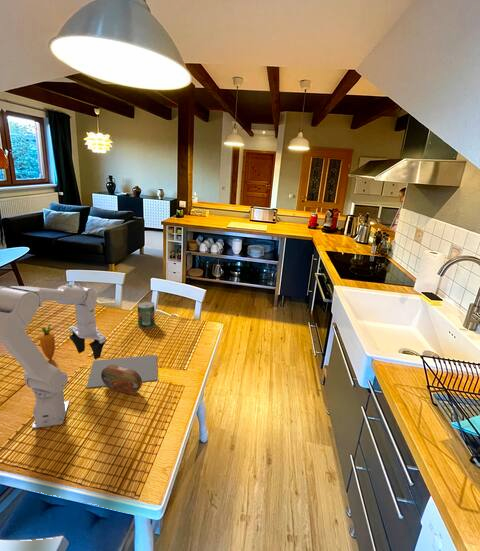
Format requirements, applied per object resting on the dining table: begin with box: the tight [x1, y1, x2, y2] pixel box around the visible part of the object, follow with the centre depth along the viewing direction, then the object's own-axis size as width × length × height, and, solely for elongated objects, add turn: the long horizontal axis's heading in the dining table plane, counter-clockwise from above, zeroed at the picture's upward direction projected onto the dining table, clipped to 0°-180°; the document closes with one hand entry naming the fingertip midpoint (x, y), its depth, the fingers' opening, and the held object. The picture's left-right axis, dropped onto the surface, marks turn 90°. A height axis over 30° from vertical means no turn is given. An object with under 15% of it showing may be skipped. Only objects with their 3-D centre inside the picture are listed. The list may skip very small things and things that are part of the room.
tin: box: [101, 365, 143, 395], centre depth 107 cm, size 15×3×8 cm, turn 73°
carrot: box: [39, 324, 56, 360], centre depth 119 cm, size 5×5×15 cm
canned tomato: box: [136, 300, 156, 330], centre depth 150 cm, size 8×8×11 cm
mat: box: [86, 354, 159, 389], centre depth 118 cm, size 16×24×1 cm, turn 106°
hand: (89, 354), depth 110 cm, fingers open, 7 cm apart
